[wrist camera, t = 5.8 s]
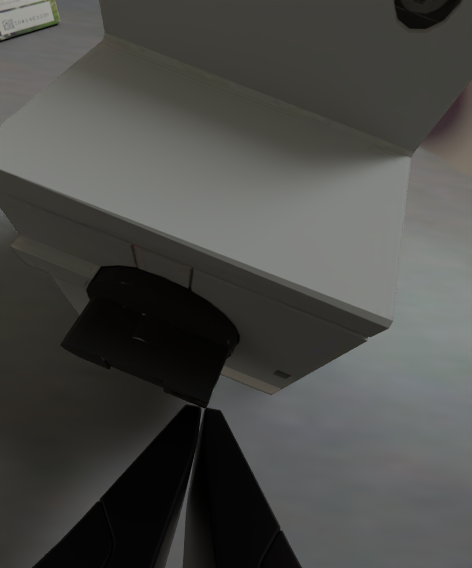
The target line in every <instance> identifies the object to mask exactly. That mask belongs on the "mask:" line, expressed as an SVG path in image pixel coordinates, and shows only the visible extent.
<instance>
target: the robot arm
mask: <svg viewBox="0 0 472 568" xmlns="http://www.w3.org/2000/svg"><path fill="white" fill-rule="evenodd" d="M200 418H201V407H200V406H195V405H189V404H186V405H185V406H184V407H183V408H182V409H181V410H180V411H179V412H178V413H177V414H176V416H175V417H174V418H173V419H172V420H171V421H170V422H169V423H168V424H167V425H166V427H165V428H164V429H163V430H162V431H161V432H160V433H159V434H158V435H157V436H156V438H155V439H154V440H153V441H152V442H151V443H150V444H149V445H148V446H147V447H146V449H145V450H144V451H143V452H142V453H141V454H140V455H139V456H138V457H137V458H136V460H135V461H134V462H133V463H132V464H131V465H130V466H129V467H128V468H127V469H126V471H125V472H124V473H123V474H122V475H121V476H120V477H119V478H118V479H117V480H116V482H115V483H114V484H113V485H112V486H111V487H110V488H109V489H108V490H107V491H106V493H105V494H104V495H103V496H102V497H101V498H100V500H99V501H98V502H96V503H95V504H94V506H93V507H92V508H91V509H90V510H89V511H88V512H87V513H86V514H85V515H84V517H83V518H82V519H81V520H80V521H79V522H78V523H77V524H76V525H75V526H74V527H73V528H72V529H71V530H70V531H69V532H68V533H67V534H66V535H65V536H64V537H63V538H62V539H61V541H60V542H59V543H58V544H56V545H55V546H54V547H53V548H52V549H51V550H50V551H49V552H48V553H47V554H46V555H45V556H44V557H43V558H42V559H41V560H39V561H38V562H37V563H36V564H35V565H34V566H33V567H32V568H165V565H166V561H167V558H168V554H169V551H170V547H171V544H172V541H173V537H174V534H175V530H176V527H177V523H178V520H179V517H180V513H181V509H182V505H183V501H184V497H185V492H186V488H187V484H188V480H189V475H190V471H191V467H192V463H193V459H194V463H193V469H192V475H191V481H190V487H189V493H188V500H187V508H186V522H185V539H184V557H183V568H302V567H301V565H300V563H299V561H298V560H297V558H296V556H295V554H294V552H293V550H292V548H291V547H290V545H289V543H288V541H287V539H286V537H285V535H284V533H283V531H281V530H280V525H279V523H278V521H277V519H276V517H275V515H274V513H273V512H272V510H271V508H270V506H269V504H268V502H267V500H266V498H265V496H264V494H263V492H262V490H261V488H260V486H259V484H258V482H257V480H256V478H255V476H254V474H253V472H252V470H251V469H250V467H249V465H248V463H247V461H246V459H245V457H244V455H243V453H242V451H241V449H240V447H239V445H238V443H237V441H236V439H235V437H234V435H233V433H232V431H231V429H230V427H229V426H228V424H227V422H226V420H225V418H224V416H223V414H222V412H221V411H220V410H216V409H211V408H206V409H205V410H204V413H203V418H202V422H201V426H200ZM199 426H200V430H199ZM195 450H196V451H195ZM194 454H195V457H194Z"/></svg>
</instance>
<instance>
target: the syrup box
mask: <svg viewBox="0 0 472 568" xmlns="http://www.w3.org/2000/svg"><path fill="white" fill-rule="evenodd" d="M57 23H60V18H59V14H58V10H57V6H56V2H55V0H0V40H4V39H7V38H11V37H14V36H17V35H20V34H24V33H28V32H31V31H34V30H37V29H41V28H44V27H47V26H51V25H54V24H57Z"/></svg>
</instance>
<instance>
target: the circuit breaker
mask: <svg viewBox="0 0 472 568" xmlns="http://www.w3.org/2000/svg"><path fill="white" fill-rule="evenodd" d="M99 2H100V7H101V13H102V19H103V25H104V31H105V34H104V38H103V40H102V41H101V42H100V43H99V44H97V45H96V46H95V47H94V48H93V49H91V50H90V51H89V52H88V53H87V54H85V55H84V56H83V57H82V58H81V59H79V60H78V61H77V62H76V63H75V64H73V65H72V66H71V67H70V68H69V69H67V70H66V71H65V72H64V73H63V74H61V75H60V76H59V77H58V78H57V79H55V80H54V81H53V82H52V83H51V84H50V85H48V86H47V87H46V88H45V89H44V90H42V91H41V92H40V93H39V94H38V95H36V96H35V97H34V98H33V99H32V100H30V101H29V102H28V103H27V104H26V105H24V106H23V107H22V108H21V109H20V110H18V111H17V112H16V113H15V114H14V115H12V116H11V117H10V118H9V119H8V120H6V121H5V122H4V123H3V124H2V125H0V208H1V209H2V211H3V212H4V213H5V215H6V216H7V217H8V219H9V220H10V222H11V223H12V224H13V226H14V227H15V228H16V230H17V231H18V232H19V234H20V235H19V236H18V237H17V238H16V239H15V241H14V242H13V243H12V244H11V245H10V247H11V248H12V249H13V250H14V251H15V253H16V254H17V255H18V256H19V257H20V258H21V260H22V261H23V262H24V263H26V264H29V265H31V266H34V267H36V268H38V269H41V270H43V271H46V272H48V273H49V274H50V276H51V277H52V279H53V280H54V282H55V283H56V284H57V286H58V287H59V288H60V290H61V291H62V292H63V294H64V295H65V297H66V298H67V299H68V301H69V302H70V303H71V305H72V306H73V307H74V309H75V310H76V311H77V313H78V314H79V317H78V319H77V320H76V322H75V323H74V325H73V326H72V328H71V329H70V331H69V332H68V334H67V335H66V337H65V338H64V340H63V341H62V343H61V344H60V345H61V346H62V347H63V348H64V349H66V350H67V351H69V352H71V353H73V354H75V355H76V356H79V357H81V358H83V359H85V360H87V361H90V362H92V363H95V364H97V365H100V366H102V367H105V368H107V369H110V367H111V366H112V367H114V368H116V369H119V370H121V371H124V372H126V373H129V374H131V375H134V376H136V377H138V378H141V379H143V380H146V381H148V382H151V383H153V384H156V385H158V386H161V387H163V388H164V392H166V393H168V394H171V395H173V396H176V397H178V398H180V399H183V400H185V401H188V402H190V403H193V404H195V405H198V406H200V407H203V408H207V405H208V403H209V401H210V398H211V396H212V393H213V391H214V388H215V386H216V384H217V381H218V379H219V376H220V374H221V375H223V376H226V377H228V378H230V379H233V380H235V381H238V382H240V383H243V384H245V385H248V386H250V387H253V388H255V389H258V390H260V391H262V392H265V393H267V394H270V395H272V394H274V393H275V392H277V391H279V390H281V389H283V388H284V387H286V386H288V385H290V384H291V383H293V382H295V381H297V380H299V379H300V378H302V377H304V376H306V375H307V374H309V373H311V372H313V371H315V370H316V369H318V368H320V367H322V366H323V365H325V364H327V363H329V362H331V361H332V360H334V359H336V358H338V357H340V356H341V355H343V354H345V353H347V352H348V351H350V350H352V349H354V348H356V347H357V346H359V345H361V344H363V343H364V342H366V341H368V337H372V336H374V335H376V334H378V333H380V332H382V331H384V330H386V329H388V328H389V327H390V325H391V323H392V322H393V316H394V307H395V298H396V289H397V280H398V271H399V261H400V252H401V243H402V234H403V225H404V216H405V207H406V198H407V189H408V180H409V171H410V162H411V157H412V155H413V153H414V151H415V150H416V149H417V148H418V146H419V145H420V144H421V143H422V141H423V140H424V139H425V138H426V136H427V135H428V134H429V132H430V131H431V130H432V129H433V128H434V126H435V125H436V124H437V123H438V121H439V120H440V119H441V118H442V116H443V115H444V114H445V112H446V111H447V110H448V109H449V108H450V106H451V105H452V104H453V103H454V101H455V100H456V99H457V98H458V96H459V95H460V94H461V93H462V91H463V90H464V89H465V87H466V86H467V85H468V84H469V82H470V81H471V80H472V0H99Z"/></svg>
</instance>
